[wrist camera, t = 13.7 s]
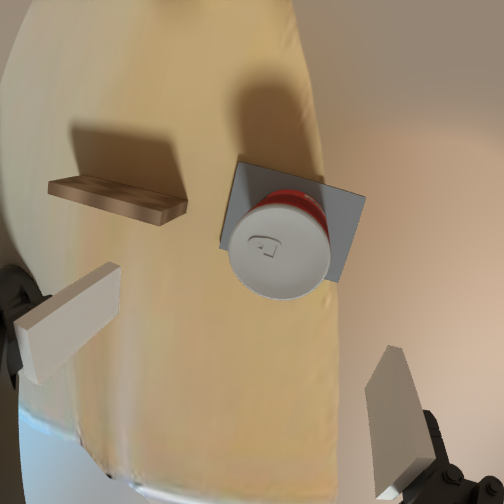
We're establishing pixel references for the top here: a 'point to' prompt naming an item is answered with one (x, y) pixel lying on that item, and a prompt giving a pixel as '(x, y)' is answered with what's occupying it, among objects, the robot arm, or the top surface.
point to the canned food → (281, 246)
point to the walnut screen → (119, 199)
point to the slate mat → (329, 198)
